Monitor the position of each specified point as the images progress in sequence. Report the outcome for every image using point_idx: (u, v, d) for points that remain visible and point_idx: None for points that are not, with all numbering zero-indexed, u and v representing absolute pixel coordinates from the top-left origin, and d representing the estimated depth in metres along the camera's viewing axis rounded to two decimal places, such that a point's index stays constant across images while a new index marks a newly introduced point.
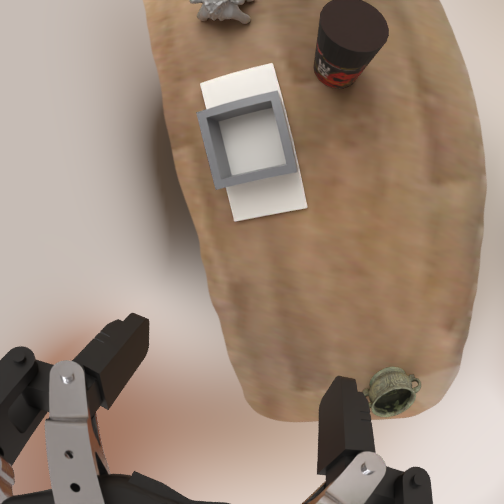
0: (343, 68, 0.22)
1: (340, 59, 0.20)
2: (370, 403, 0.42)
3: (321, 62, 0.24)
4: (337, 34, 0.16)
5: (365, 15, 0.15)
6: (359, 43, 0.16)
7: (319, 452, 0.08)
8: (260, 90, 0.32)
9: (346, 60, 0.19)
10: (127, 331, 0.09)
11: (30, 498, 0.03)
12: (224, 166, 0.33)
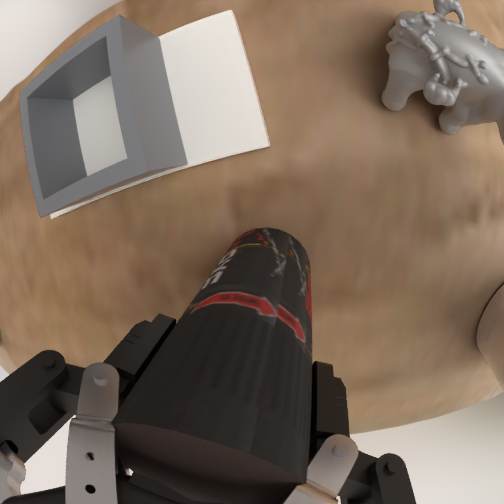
0: None
1: None
2: None
3: (211, 280, 0.12)
4: (137, 443, 0.05)
5: (238, 497, 0.06)
6: (135, 463, 0.06)
7: None
8: (204, 122, 0.16)
9: None
10: (157, 332, 0.10)
11: (30, 498, 0.03)
12: (62, 88, 0.14)
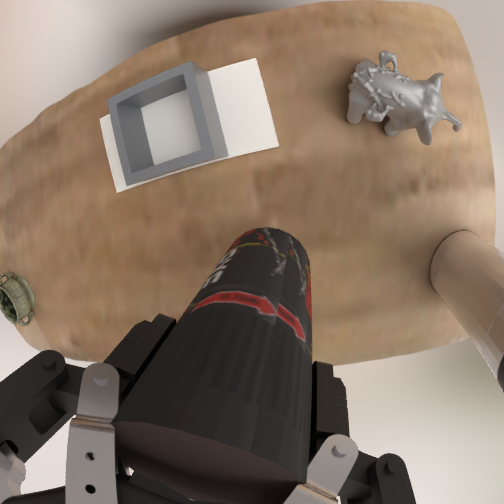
0: None
1: None
2: (1, 283, 0.38)
3: (212, 280, 0.12)
4: (138, 441, 0.05)
5: (238, 496, 0.06)
6: (136, 462, 0.06)
7: None
8: (239, 131, 0.27)
9: None
10: (157, 332, 0.10)
11: (30, 498, 0.03)
12: (139, 100, 0.24)
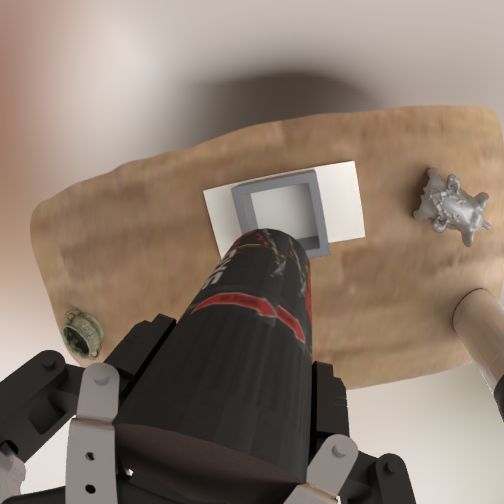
0: None
1: None
2: (68, 322, 0.47)
3: (211, 281, 0.12)
4: (137, 443, 0.05)
5: (237, 497, 0.06)
6: (135, 463, 0.06)
7: None
8: (337, 223, 0.35)
9: None
10: (157, 332, 0.10)
11: (30, 498, 0.03)
12: None
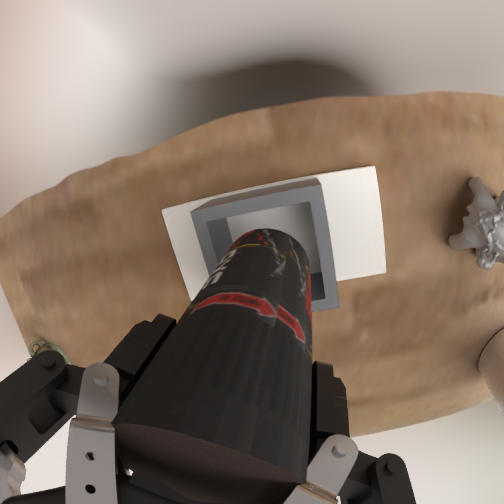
0: None
1: None
2: (33, 354, 0.36)
3: (211, 281, 0.12)
4: (137, 443, 0.05)
5: (238, 498, 0.06)
6: (136, 463, 0.06)
7: None
8: (348, 254, 0.25)
9: None
10: (157, 332, 0.10)
11: (30, 499, 0.03)
12: None
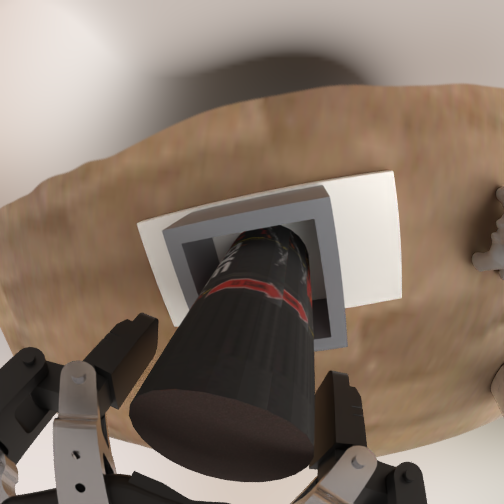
0: None
1: None
2: None
3: (221, 270, 0.14)
4: (162, 411, 0.07)
5: (251, 465, 0.07)
6: (156, 436, 0.07)
7: None
8: (359, 278, 0.20)
9: None
10: (137, 331, 0.09)
11: (30, 498, 0.03)
12: None
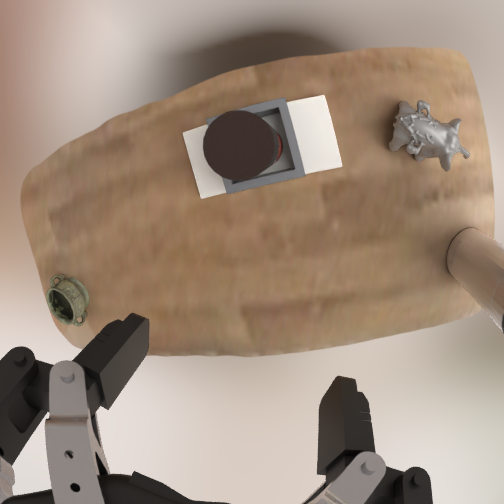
0: None
1: None
2: (54, 285, 0.46)
3: None
4: (219, 127, 0.21)
5: (251, 156, 0.22)
6: (212, 148, 0.22)
7: (319, 452, 0.08)
8: (312, 153, 0.35)
9: None
10: (127, 331, 0.09)
11: (30, 498, 0.03)
12: None
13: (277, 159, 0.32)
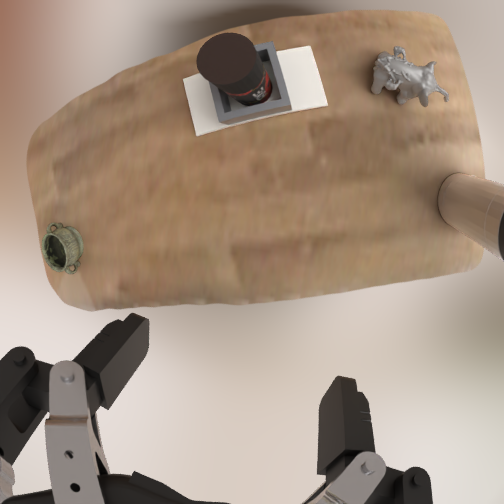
0: None
1: None
2: (50, 231, 0.47)
3: None
4: (211, 45, 0.22)
5: (236, 65, 0.22)
6: (204, 61, 0.22)
7: (319, 452, 0.08)
8: (300, 93, 0.35)
9: None
10: (127, 331, 0.09)
11: (30, 498, 0.03)
12: None
13: (266, 93, 0.33)
